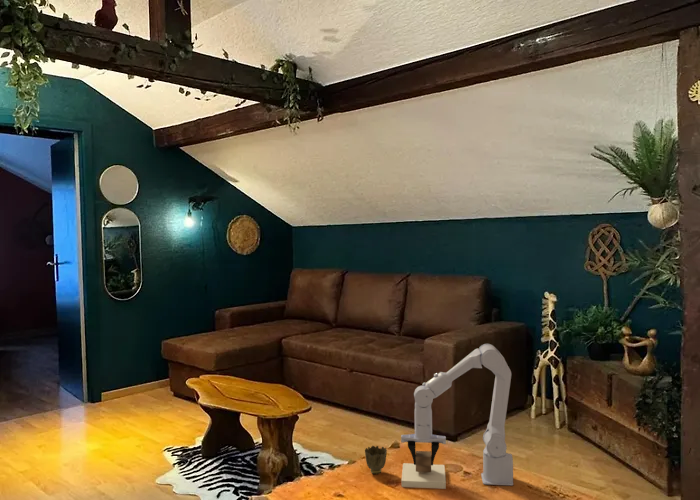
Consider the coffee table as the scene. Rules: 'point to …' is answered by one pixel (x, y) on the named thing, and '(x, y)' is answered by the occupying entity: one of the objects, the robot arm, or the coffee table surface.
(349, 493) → the coffee table surface
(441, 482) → the base board
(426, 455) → the walnut block
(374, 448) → the cup
